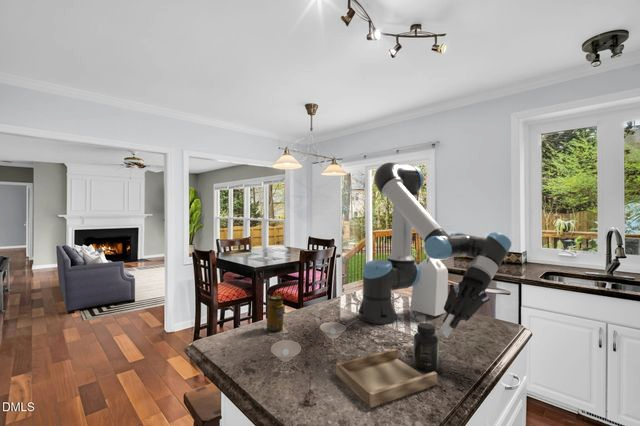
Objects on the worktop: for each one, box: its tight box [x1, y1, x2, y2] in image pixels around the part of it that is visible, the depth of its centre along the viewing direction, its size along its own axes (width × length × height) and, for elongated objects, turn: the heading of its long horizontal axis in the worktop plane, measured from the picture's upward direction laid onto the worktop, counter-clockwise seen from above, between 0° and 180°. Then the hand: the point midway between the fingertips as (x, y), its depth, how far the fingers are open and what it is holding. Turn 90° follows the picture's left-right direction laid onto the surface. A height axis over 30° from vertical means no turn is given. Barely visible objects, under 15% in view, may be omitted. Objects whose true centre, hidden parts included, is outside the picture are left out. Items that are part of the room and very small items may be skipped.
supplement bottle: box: [412, 322, 440, 374], centre depth 91 cm, size 7×7×12 cm
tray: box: [335, 348, 438, 408], centre depth 84 cm, size 21×16×3 cm
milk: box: [409, 254, 449, 317], centre depth 140 cm, size 12×12×26 cm
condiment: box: [262, 295, 289, 336], centre depth 116 cm, size 7×8×12 cm
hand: (442, 334), depth 93 cm, fingers closed
